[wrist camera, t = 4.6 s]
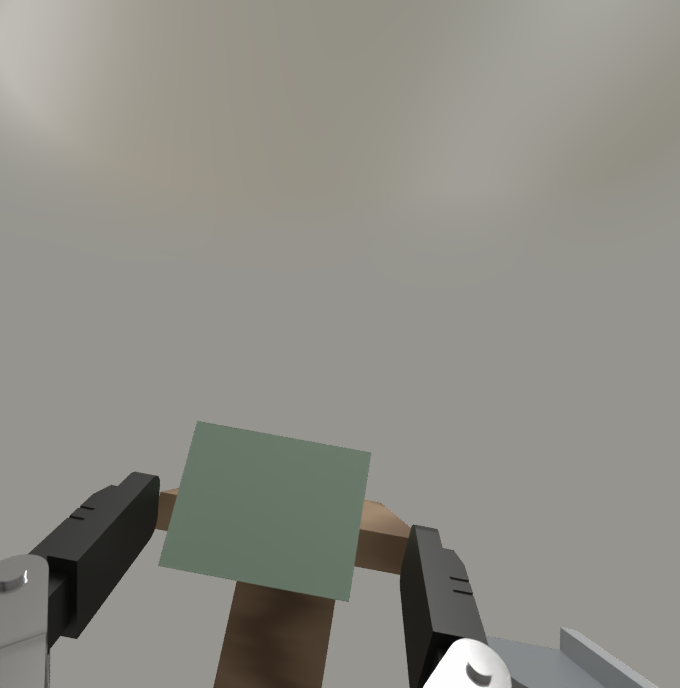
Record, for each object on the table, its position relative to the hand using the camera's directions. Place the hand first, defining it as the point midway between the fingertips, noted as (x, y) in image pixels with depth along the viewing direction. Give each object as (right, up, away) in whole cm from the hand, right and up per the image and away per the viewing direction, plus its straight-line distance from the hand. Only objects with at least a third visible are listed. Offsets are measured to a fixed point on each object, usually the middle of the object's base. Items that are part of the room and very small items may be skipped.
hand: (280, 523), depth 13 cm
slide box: (0, -3, +8) cm, 9 cm away
